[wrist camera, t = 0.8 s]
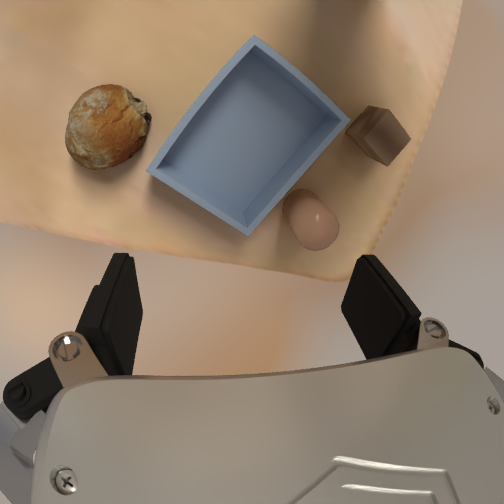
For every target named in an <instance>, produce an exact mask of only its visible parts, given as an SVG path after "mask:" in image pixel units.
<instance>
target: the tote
mask: <svg viewBox="0 0 504 504" xmlns="http://www.w3.org/2000/svg"><path fill="white" fill-rule="evenodd" d="M350 121H351V120H350V119H349V118H348V117H347V116H346V115H345V113H344V112H343V111H342V110H341V109H340V108H339V107H338V106H337V105H336V104H335V103H334V102H333V101H332V100H331V99H330V98H329V97H328V96H327V95H326V94H324V93H323V92H322V91H321V90H320V89H319V88H318V87H317V86H316V85H315V84H314V83H313V82H312V81H310V80H309V79H308V78H307V77H306V76H305V75H304V74H303V73H301V72H300V71H299V70H298V69H297V68H296V67H295V66H293V65H292V64H291V63H290V62H289V61H287V60H286V59H285V58H284V57H282V56H281V55H280V54H279V53H277V52H276V51H275V50H274V49H272V48H271V47H270V46H268V45H267V44H266V43H265V42H263V41H262V40H261V39H259V38H258V37H256V36H255V35H253V36H252V37H251V38H250V39H249V40H248V41H247V42H246V43H245V44H244V45H243V46H242V47H241V49H240V50H239V51H238V52H237V53H236V54H235V55H234V56H233V57H232V58H231V59H230V60H229V62H228V63H227V64H226V65H225V66H224V67H223V68H222V69H221V71H220V72H219V73H218V74H217V75H216V76H215V78H214V79H213V80H212V81H211V82H210V83H209V85H208V86H207V87H206V88H205V89H204V91H203V92H202V93H201V94H200V96H199V97H198V98H197V99H196V101H195V102H194V103H193V105H192V106H191V107H190V108H189V110H188V111H187V112H186V114H185V115H184V116H183V118H182V119H181V120H180V122H179V123H178V124H177V126H176V127H175V129H174V130H173V131H172V133H171V134H170V136H169V137H168V138H167V140H166V141H165V143H164V144H163V146H162V147H161V149H160V150H159V152H158V153H157V155H156V156H155V158H154V159H153V161H152V162H151V164H150V165H149V167H148V168H147V170H146V172H148V173H150V174H151V175H153V176H154V177H156V178H157V179H159V180H161V181H162V182H164V183H165V184H167V185H168V186H170V187H172V188H173V189H175V190H176V191H178V192H179V193H181V194H183V195H184V196H186V197H187V198H189V199H190V200H192V201H194V202H195V203H197V204H198V205H200V206H201V207H203V208H204V209H206V210H208V211H209V212H211V213H212V214H214V215H215V216H217V217H218V218H220V219H221V220H223V221H225V222H226V223H228V224H229V225H231V226H232V227H234V228H235V229H237V230H238V231H240V232H242V233H243V234H245V235H246V236H248V237H249V235H250V234H251V233H252V232H253V231H254V230H255V229H256V227H257V226H258V225H259V224H260V223H261V222H262V220H263V219H264V218H265V217H266V216H267V215H268V214H269V212H270V211H271V210H272V209H273V208H274V207H275V206H276V204H277V203H278V202H279V201H280V200H281V199H282V198H283V196H284V195H285V194H286V193H287V192H288V191H289V190H290V188H291V187H292V186H293V185H294V184H295V183H296V182H297V180H298V179H299V178H300V177H301V176H302V175H303V174H304V172H305V171H306V170H307V169H308V168H309V167H310V166H311V165H312V163H313V162H314V161H315V160H316V159H317V158H318V157H319V156H320V154H321V153H322V152H323V151H324V150H325V149H326V148H327V147H328V145H329V144H330V143H331V142H332V141H333V140H334V139H335V138H336V136H337V135H338V134H339V133H340V132H341V131H342V130H343V129H344V127H345V126H346V125H347V124H348V123H349V122H350Z"/></svg>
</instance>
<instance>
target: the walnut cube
mask: <svg viewBox="0 0 504 504" xmlns="http://www.w3.org/2000/svg"><path fill="white" fill-rule="evenodd" d="M345 132H346V133H347V134H348V135H349V136H350V137H351V138H352V139H353V140H354V141H355V142H356V143H357V145H358V146H359V147H360V148H361V149H362V150H363V151H364V152H365V153H366V154H367V156H368V157H370V158H372V159H374V160H376V161H378V162H380V163H382V164H384V165H386V166H387V167H388V166H389V164H390V163H391V162H392V161H393V160H394V159H395V157H396V156H397V155H398V154H399V153H400V152H401V150H402V149H403V148H404V147H405V146H406V145H407V143H408V142H409V141H410V140H411V138H410V137H409V135H408V134H407V133H406V131H405V130H404V128H403V127H402V126H401V124H400V123H399V122H398V120H397V119H396V118H395V117H394V115H393V114H392V113H391V111H390V110H388V109H383V108H378V107H373V106H368V107H367V108H366V109H365V110H364V111H363V112H362V113H361V114H360V116H359V117H358V118H357V119H356V120H355V121H354V122H353V123H352V124H351V126H350V127H349V128H348V129H347V130H346V131H345Z"/></svg>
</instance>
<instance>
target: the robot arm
mask: <svg viewBox="0 0 504 504" xmlns="http://www.w3.org/2000/svg"><path fill="white" fill-rule="evenodd" d="M341 309H342V313H343V315H344V317H345V318H346V320H347V322H348V324H349V326H350V328H351V330H352V332H353V334H354V336H355V338H356V340H357V342H358V344H359V345H360V347H361V349H362V351H363V353H364V355H365V357H366V359H367V360H363V361H358V362H352V363H346V364H339V365H332V366H326V367H318V368H310V369H302V370H294V371H283V372H272V373H259V374H243V375H222V376H221V375H220V376H148V375H132V371H133V365H134V359H135V353H136V348H137V342H138V336H139V331H140V326H141V321H142V316H143V309H142V304H141V298H140V293H139V287H138V282H137V276H136V269H135V263H134V258H133V257H129V254H128V253H114V254H113V256H112V259H111V261H110V263H109V265H108V267H107V269H106V271H105V274H104V276H103V278H102V280H101V282H100V285H95V286H94V288H93V289H92V292H91V294H90V296H89V299H88V301H87V303H86V306H85V308H84V310H83V313H82V315H81V318H80V320H79V323H78V325H77V328H76V330H75V332H72V331H71V332H65V333H62V334H60V335H58V336H56V337H55V338H54V339H53V340H52V342H51V344H50V346H49V351H48V352H49V358H47V359H45V360H43V361H42V362H40V363H38V364H37V365H35V366H33V367H32V368H30V369H28V370H27V371H25V372H23V373H22V374H20V375H18V376H17V377H15V378H14V379H12V380H11V381H9V382H8V383H7V385H6V386H5V388H4V391H3V402H2V403H1V404H0V490H1V491H2V493H3V494H4V495H5V496H6V497H7V499H9V501H10V502H11V503H12V504H504V381H503V380H502V379H501V378H500V377H498V376H497V375H496V374H495V373H494V372H492V371H491V370H490V369H489V368H487V367H486V368H485V369H484V365H483V361H482V359H481V357H480V355H479V354H478V353H476V352H474V351H472V350H470V349H468V348H466V347H464V346H462V345H460V344H458V343H455V342H453V341H451V340H449V334H448V330H447V328H446V327H445V326H444V324H443V323H441V322H440V321H438V320H437V319H434V318H430V317H427V318H424V319H423V320H422V321H420V320H419V317H420V316H421V312H420V311H419V309H418V308H417V307H416V305H415V304H414V303H413V301H412V300H411V299H410V298H409V296H408V295H407V294H406V292H405V291H404V290H403V289H402V287H401V286H400V285H399V284H398V283H397V281H396V280H395V279H394V277H393V276H392V275H391V274H390V273H389V271H388V270H387V269H386V268H385V267H384V265H383V264H382V263H381V262H380V261H379V260H378V258H377V257H376V256H375V255H361V257H360V258H358V259H357V261H356V264H355V267H354V270H353V273H352V276H351V279H350V282H349V285H348V288H347V291H346V293H345V296H344V299H343V302H342V305H341ZM35 450H36V455H35V462H34V464H33V454H34V452H35ZM73 471H74V472H73ZM69 476H70V477H69Z"/></svg>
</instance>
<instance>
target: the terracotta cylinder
mask: <svg viewBox="0 0 504 504" xmlns="http://www.w3.org/2000/svg"><path fill="white" fill-rule="evenodd" d="M283 213H284V216H285V218H286V219H287V221H288V223H289V225H290V226H291V228H292V230H293V232H294V233H295V235H296V237H297V239H298V240H299V242H300V244H301V245H302V246H303V247H304V248H306V249H308V250H312V251H318V250H322V249H325V248H327V247H328V246H330V245H331V244H332V243H333V242H334V241H335V239H336V237H337V235H338V232H339V223H338V220H337V218H336V217H335V216H334V215H333V214H332V213H331V211H330V210H329V209H328V208H327V207H326V206H325V205H324V204H323V203H322V202H321V201H320V200H319V199H318V197H317V196H316V195H315V194H314V193H312V192H311V191H309V190H304V189H302V190H297V191H294V192H292V193H291V194H290V195H289V196H288V197H287V198H286V199H285V201H284V204H283Z"/></svg>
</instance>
